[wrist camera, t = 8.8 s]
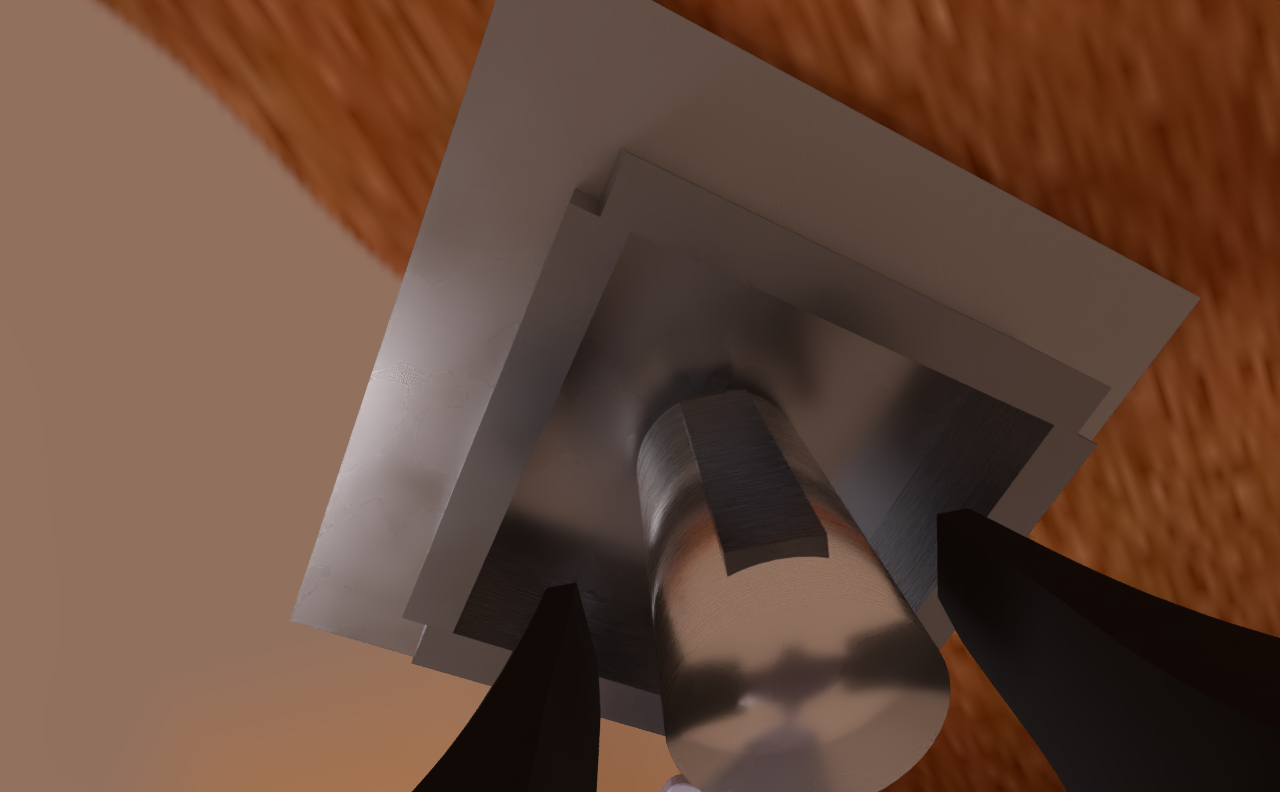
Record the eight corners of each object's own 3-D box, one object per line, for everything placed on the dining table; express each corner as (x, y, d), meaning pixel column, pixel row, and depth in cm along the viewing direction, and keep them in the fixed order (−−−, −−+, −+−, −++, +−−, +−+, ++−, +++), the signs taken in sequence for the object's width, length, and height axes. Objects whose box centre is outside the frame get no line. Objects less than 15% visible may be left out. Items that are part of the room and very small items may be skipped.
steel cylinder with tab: (808, 521, 18) (950, 788, 11) (652, 550, 18) (688, 836, 11) (793, 364, 17) (950, 556, 9) (620, 396, 17) (637, 614, 9)
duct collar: (827, 762, 23) (867, 870, 20) (298, 606, 19) (235, 707, 16) (1181, 292, 17) (1322, 332, 14) (522, -64, 13) (498, -126, 10)
